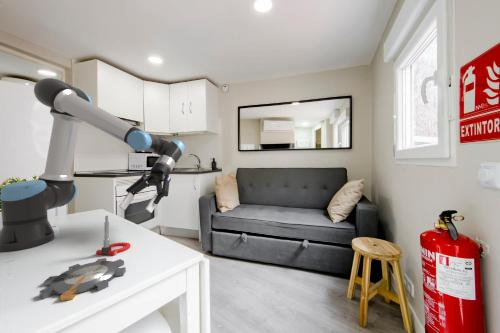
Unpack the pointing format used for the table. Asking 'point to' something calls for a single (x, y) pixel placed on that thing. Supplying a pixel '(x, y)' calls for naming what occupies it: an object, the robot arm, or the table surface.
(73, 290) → the sprocket plate
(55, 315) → the table surface
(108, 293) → the table surface
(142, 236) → the table surface
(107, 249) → the tow hook
